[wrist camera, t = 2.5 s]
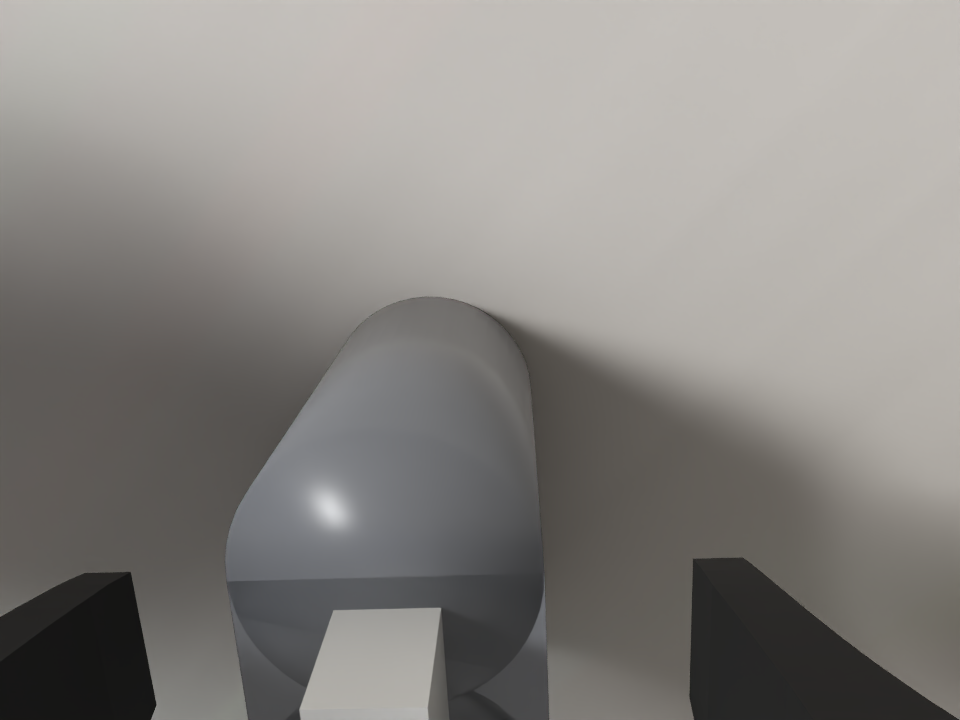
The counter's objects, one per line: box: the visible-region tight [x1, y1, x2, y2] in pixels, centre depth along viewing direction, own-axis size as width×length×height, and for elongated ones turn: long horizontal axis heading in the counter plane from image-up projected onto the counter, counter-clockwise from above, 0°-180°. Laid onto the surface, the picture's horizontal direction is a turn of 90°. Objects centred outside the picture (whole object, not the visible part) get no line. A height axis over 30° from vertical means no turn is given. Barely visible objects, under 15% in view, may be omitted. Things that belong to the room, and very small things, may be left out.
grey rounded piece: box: [225, 297, 549, 720], centre depth 12 cm, size 4×6×8 cm, turn 3°
